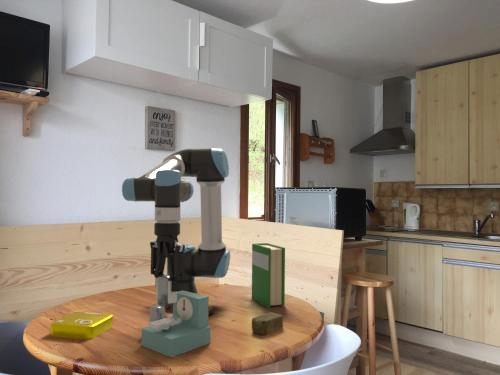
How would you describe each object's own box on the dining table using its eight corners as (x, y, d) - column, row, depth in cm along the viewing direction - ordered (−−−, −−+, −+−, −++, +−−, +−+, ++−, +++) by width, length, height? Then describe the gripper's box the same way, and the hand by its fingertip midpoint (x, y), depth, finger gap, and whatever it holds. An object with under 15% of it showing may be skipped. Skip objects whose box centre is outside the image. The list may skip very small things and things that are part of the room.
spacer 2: (167, 300, 126) (167, 274, 126) (178, 303, 123) (178, 276, 123) (153, 303, 122) (154, 276, 122) (164, 306, 119) (164, 278, 119)
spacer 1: (158, 328, 140) (158, 304, 141) (167, 331, 137) (168, 306, 137) (146, 331, 137) (146, 307, 137) (155, 335, 133) (155, 309, 134)
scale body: (180, 333, 135) (180, 290, 136) (210, 343, 126) (210, 297, 127) (141, 345, 124) (142, 298, 124) (171, 357, 115) (172, 306, 115)
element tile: (115, 326, 143) (115, 312, 143) (89, 341, 128) (90, 325, 128) (76, 323, 146) (76, 309, 146) (47, 337, 131) (47, 322, 131)
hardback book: (284, 306, 170) (285, 247, 170) (268, 308, 167) (268, 248, 168) (266, 296, 186) (267, 243, 187) (251, 297, 184) (252, 243, 184)
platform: (173, 325, 127) (173, 315, 127) (182, 328, 124) (182, 318, 124) (149, 332, 120) (149, 322, 120) (157, 336, 118) (157, 325, 118)
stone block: (250, 332, 137) (250, 317, 137) (270, 325, 146) (271, 310, 146) (264, 336, 133) (264, 321, 133) (284, 328, 142) (284, 313, 142)
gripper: (138, 221, 126) (137, 298, 125) (177, 223, 114) (175, 309, 114) (158, 220, 132) (157, 294, 131) (197, 222, 120) (196, 303, 119)
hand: (166, 300), depth 122 cm, fingers closed on spacer 2, 5 cm apart
